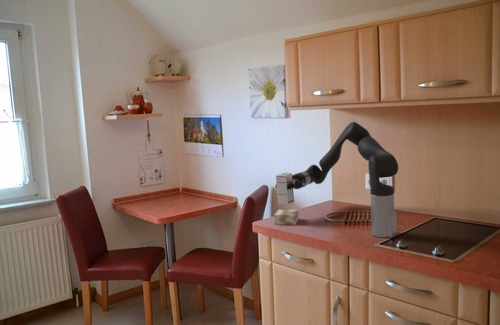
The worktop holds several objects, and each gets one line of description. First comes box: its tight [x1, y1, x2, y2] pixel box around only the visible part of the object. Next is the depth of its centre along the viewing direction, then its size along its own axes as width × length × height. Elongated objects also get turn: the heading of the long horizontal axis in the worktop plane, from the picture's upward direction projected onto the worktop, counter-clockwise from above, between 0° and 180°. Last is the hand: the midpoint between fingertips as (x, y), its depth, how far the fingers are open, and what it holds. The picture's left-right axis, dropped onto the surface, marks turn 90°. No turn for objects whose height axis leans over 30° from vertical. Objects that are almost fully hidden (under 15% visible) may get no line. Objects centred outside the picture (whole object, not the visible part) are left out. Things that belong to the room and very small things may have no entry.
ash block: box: [273, 209, 300, 226], centre depth 215 cm, size 10×10×5 cm
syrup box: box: [275, 172, 295, 206], centre depth 213 cm, size 6×6×14 cm
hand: (282, 187), depth 211 cm, fingers closed on syrup box, 6 cm apart
